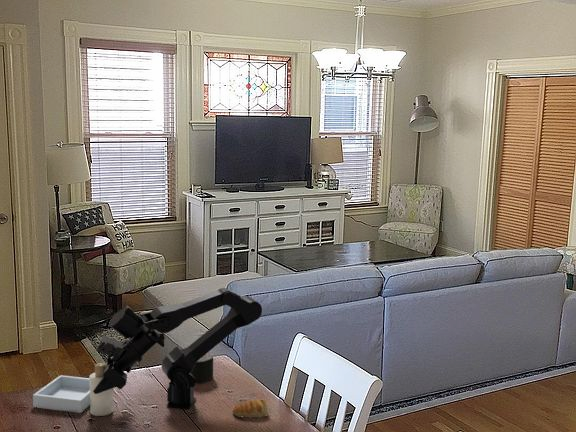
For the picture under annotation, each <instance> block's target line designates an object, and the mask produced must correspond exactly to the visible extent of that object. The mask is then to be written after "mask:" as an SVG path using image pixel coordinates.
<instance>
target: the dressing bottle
mask: <svg viewBox="0 0 576 432" xmlns="http://www.w3.org/2000/svg"><path fill="white" fill-rule="evenodd" d="M106 367H107V363H106V362H99V363H95V365H94V372H93V373H91V374H90V375H89V377H88V378H89V382H90V405H89V410H90V411H89V412H90V414H91V415H93V416H96V417H100V416H101V417H102V416H108V415H109V414H110V415H111V414H112V413H113V412H114V388H112V389H109V390H106V391H103V392H101V393H98V394H95V393H94V392H93V390H94V389H95V388H96V386H97V385H98V383H99V382H100V381H101V379H102V378H103V370H104V368H106Z"/></svg>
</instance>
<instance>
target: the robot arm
mask: <svg viewBox="0 0 576 432" xmlns="http://www.w3.org/2000/svg"><path fill="white" fill-rule="evenodd" d="M223 306H228V307H230V309H229V310H228V313H227V315H226V316H224V317H223V318H222V319H221V320H219V321H218V322H217V323H216V324H215V325H213V326H211V328H210V329H209V330H207V331H206V332H205V333H203V334H202V335H201V336H200V337H198V338H197V339H195V341H194V342H192V343H191V344H189V345H188V346H186V347H185V348H182V349H181V348H180V347H179V346H175V347H174V348H173V349H172V350H171V351H170V352H168V353H166V354H165V355H164V356H165V357H164V358H163V360H162V361H161V370H162V372H163V373H164V374H165V376H166V377H167V379H168V380H169V381H170V382H169V383H168V387H167V388H166V392H167V393H166V401H167V402H168V403H167V404H166V407H168V408H175V409H177V408H178V409H184V410H188V409H190V408H191V407H192V406H193V404H195V401H197V397H195V385H196V383H195V382H196V379H195V378H194V376H193V375H192V374H191V372H192V370H193V368H194V366H195V365H196V363H197V361H198V360H199V359H200V358H202V357H203V356H204V355H205V354H207V353H208V352H211V350H213V349H214V348H215V347H216V346H217V345H219V344H220V343H221V342H222V341H224V340H225V339H226V338H227V337H229V336H230V335H231V334H233V333H234V332H235V331H236V330H237V329H239V328H242V327H245V326H249V325H251V324H253V323H254V322H256V321H258V320H259V319H260V318H261V316H262V312H263V307H262V305H261V304H260V303H259V302H258V300H257V301H256V300H255V299H254V298H252V297H251V296H248V295H242V296H241V295H239V294H238V293H234V292H233V291H230V290H229V289H227V287H226V288H225V287H222V288H219V289H217V290H216V291H212V292H209V293H207V294H204V295H202V296H198V297H196V298H194V299H191V300H188V301H185V302H183V303H177V304H166V305H160V306H156V307H155V308H153V309H152V310H151V311H148V312H145V313H140V314H137V312H135V311H134V310H132V308H131V307H130V306H128V305H126V306H125V307H124V308H122V309H120V310H119V311H117V312H116V313H114V314H113V316H112V317H111V319H110V321H109V324H108V325H109V327H110V328H112V329H113V330H114V331H115V332H116V333H118V334H120V335H121V336H122V337H123V338H125V339H126V340H124V341H123V342H121V341H119V340H118V339H115V338H113V337H111V336H108V335H102V337H101V339H100V340H99V343H98V345H97V347H96V352H98V353H99V354H103V355H106V356H107V363H106V364H107V367H106V368H104V370H103V378H102V379H101V381H100V382H99V383H98V385H97V386H96V388H95V389H94V390H93V392H94V393H95V394H98V393H101V392H103V391H106V390H109V389H112V388H113V389H115V388H117V389H119V390H122V389H123V388H124V387H125V386H126V385H127V382H128V374H130V372H131V371H132V368H133V367H134V366H135V365H136V364H137V363H141V361H142V360H143V357H144V356H145V355H146V354H147V353H148V352H149V351H150V350H151V349H152V348H154V347H155V345H156V344H158V345H159V346H160V347H162V348H163V347H165V339H166V337H165V334H167V333H170V332H171V331H173V330H175V329H177V328H178V327H180V326H181V325H182V324H183V323H184V322H185V321H187V320H189V319H192V318H194V317H197V316H200V315H203V314H205V313H208V312H211V311H213V310H216V309H219V308H221V307H223ZM158 332H159V333H158ZM129 338H130V339H129ZM127 373H128V374H127Z"/></svg>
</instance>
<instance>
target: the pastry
mask: <svg viewBox="0 0 576 432" xmlns="http://www.w3.org/2000/svg"><path fill="white" fill-rule="evenodd" d="M232 413H233V415H235V416H236V417H238V416H239V417H238V418H245V417H258V418H262V417H261V416H266V415H267V416H268V415H269V409H268V403H267V400H266V399H265V398H264V397H263V398H261V399H257V398H254V399H253V398H251V399H248V400H247V401H245V402H240V403H239V404H236V405H235V406H234V407H233V409H232ZM241 416H243V417H241ZM267 416H266V417H267Z"/></svg>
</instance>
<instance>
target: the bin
mask: <svg viewBox="0 0 576 432" xmlns="http://www.w3.org/2000/svg"><path fill="white" fill-rule="evenodd" d="M32 402H33V403H32V404H33V405H32V406H33V408H36V407H37V409H38V408H39V409H45V410H46V409H47V410H54V411H62V412H68V413H69V412H70V413H78V414H81V413H82V412H83V411H85V410H86V409H87V408H88V407H90V382H89V377H81V376H71V375H61V374H60V375H58V376H57V377H56V378H55V379H52V380H51V381H50V382H49V383H48V384H46V385H45V386H44V387H41V388H40V389H39V390H38V391H37V392H35V393H34V394H32Z"/></svg>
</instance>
